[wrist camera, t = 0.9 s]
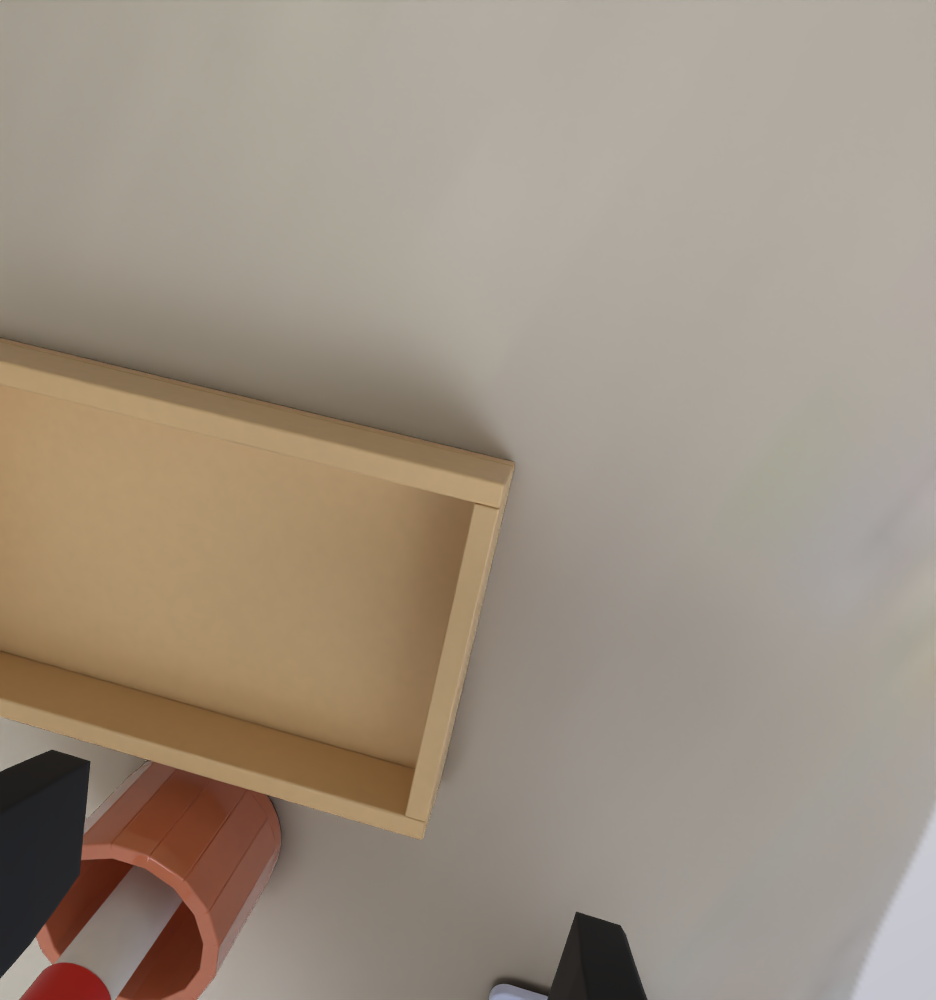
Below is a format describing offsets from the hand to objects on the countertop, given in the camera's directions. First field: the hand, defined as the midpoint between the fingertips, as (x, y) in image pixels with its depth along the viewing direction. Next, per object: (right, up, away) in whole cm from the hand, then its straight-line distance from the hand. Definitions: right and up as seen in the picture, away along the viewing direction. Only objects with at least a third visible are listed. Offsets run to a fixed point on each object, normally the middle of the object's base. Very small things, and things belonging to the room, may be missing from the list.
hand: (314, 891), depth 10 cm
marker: (-6, -5, +12) cm, 15 cm away
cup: (-6, -5, +13) cm, 15 cm away
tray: (-5, +4, +10) cm, 12 cm away
